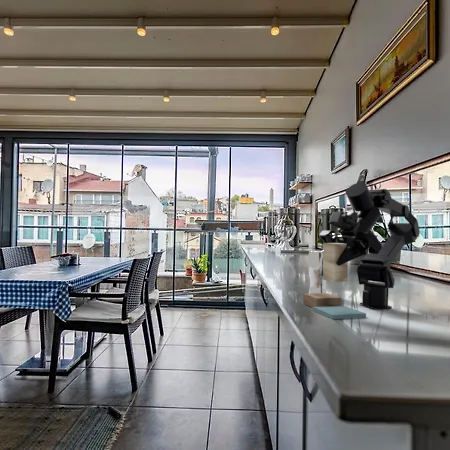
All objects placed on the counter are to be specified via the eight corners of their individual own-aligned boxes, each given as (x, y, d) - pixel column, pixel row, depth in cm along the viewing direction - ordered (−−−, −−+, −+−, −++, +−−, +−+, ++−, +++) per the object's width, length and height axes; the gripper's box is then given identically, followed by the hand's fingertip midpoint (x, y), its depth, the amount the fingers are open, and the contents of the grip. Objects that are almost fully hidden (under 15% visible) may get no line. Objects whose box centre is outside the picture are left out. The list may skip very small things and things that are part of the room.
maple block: (335, 278, 96) (336, 242, 96) (347, 281, 92) (347, 243, 92) (322, 279, 95) (323, 243, 95) (334, 282, 90) (334, 244, 90)
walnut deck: (326, 302, 105) (326, 293, 105) (340, 308, 99) (341, 297, 99) (303, 303, 103) (303, 293, 103) (316, 309, 96) (316, 298, 96)
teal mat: (344, 309, 97) (344, 305, 97) (366, 317, 89) (366, 313, 89) (312, 310, 94) (313, 306, 94) (332, 319, 86) (332, 315, 86)
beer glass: (330, 294, 120) (331, 251, 121) (324, 297, 114) (325, 252, 115) (310, 292, 124) (312, 250, 124) (304, 294, 118) (305, 250, 118)
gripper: (324, 203, 103) (293, 240, 99) (374, 199, 86) (339, 244, 82) (344, 229, 107) (315, 267, 102) (396, 231, 90) (363, 276, 85)
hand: (331, 263), depth 93 cm, fingers closed on maple block, 4 cm apart
